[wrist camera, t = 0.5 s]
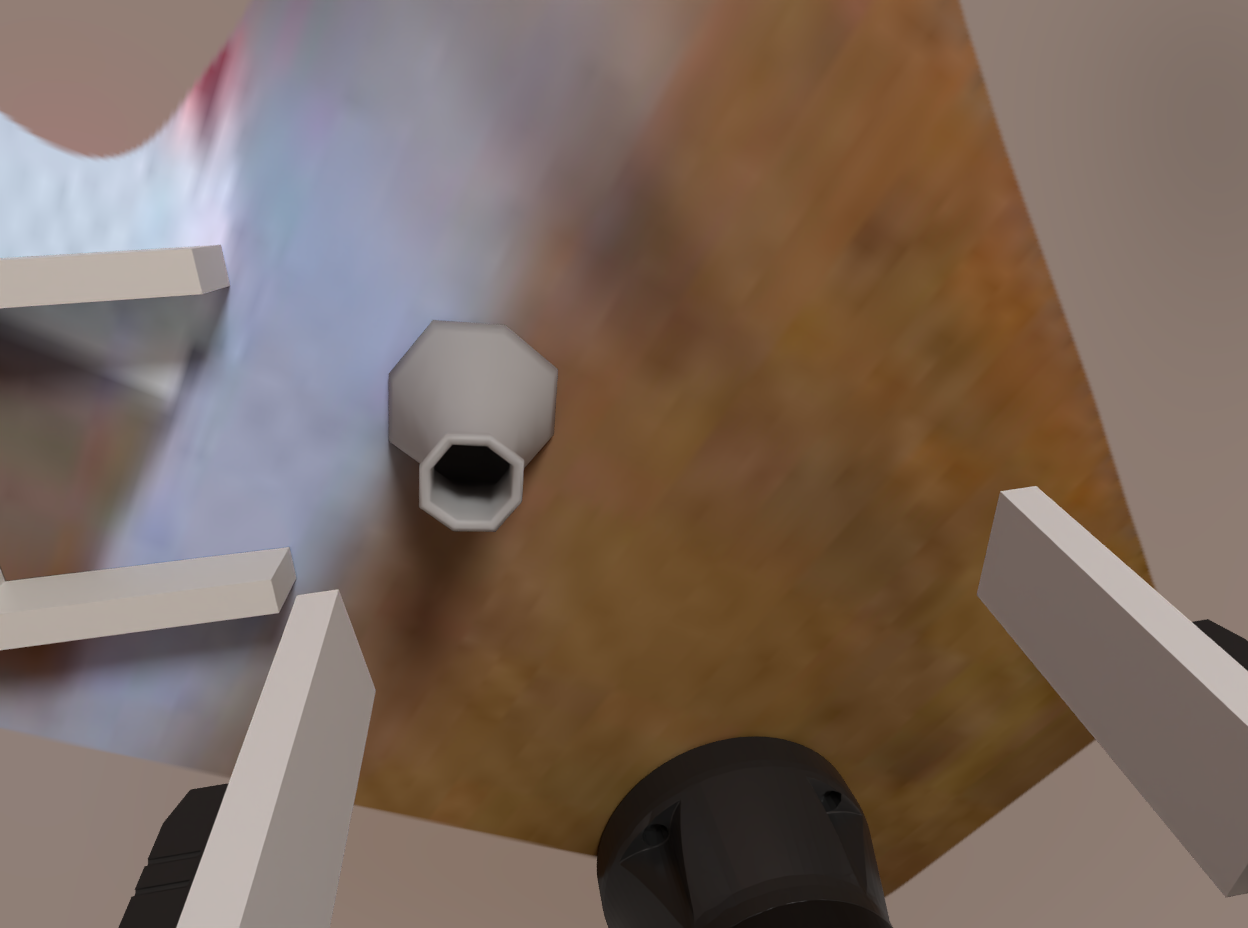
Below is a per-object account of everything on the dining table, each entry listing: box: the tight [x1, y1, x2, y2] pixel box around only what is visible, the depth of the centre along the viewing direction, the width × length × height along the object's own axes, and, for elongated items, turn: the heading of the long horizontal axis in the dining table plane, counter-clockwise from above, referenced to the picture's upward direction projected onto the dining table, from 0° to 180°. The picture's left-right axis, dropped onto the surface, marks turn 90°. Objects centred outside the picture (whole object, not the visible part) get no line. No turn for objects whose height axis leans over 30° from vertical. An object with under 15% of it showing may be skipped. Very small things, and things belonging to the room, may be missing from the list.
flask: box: [389, 320, 558, 532], centre depth 27 cm, size 7×7×10 cm
